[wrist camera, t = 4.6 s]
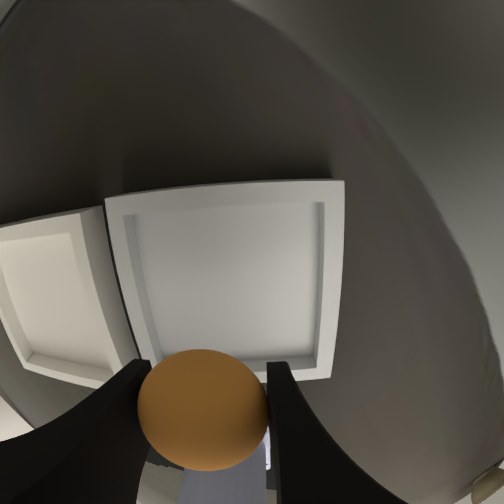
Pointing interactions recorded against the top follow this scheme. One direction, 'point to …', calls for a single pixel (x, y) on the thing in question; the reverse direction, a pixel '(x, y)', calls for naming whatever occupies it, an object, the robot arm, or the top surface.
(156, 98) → the top surface
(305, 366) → the tray
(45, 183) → the top surface
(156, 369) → the ball
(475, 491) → the planter bowl
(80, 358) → the dish
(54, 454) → the robot arm
